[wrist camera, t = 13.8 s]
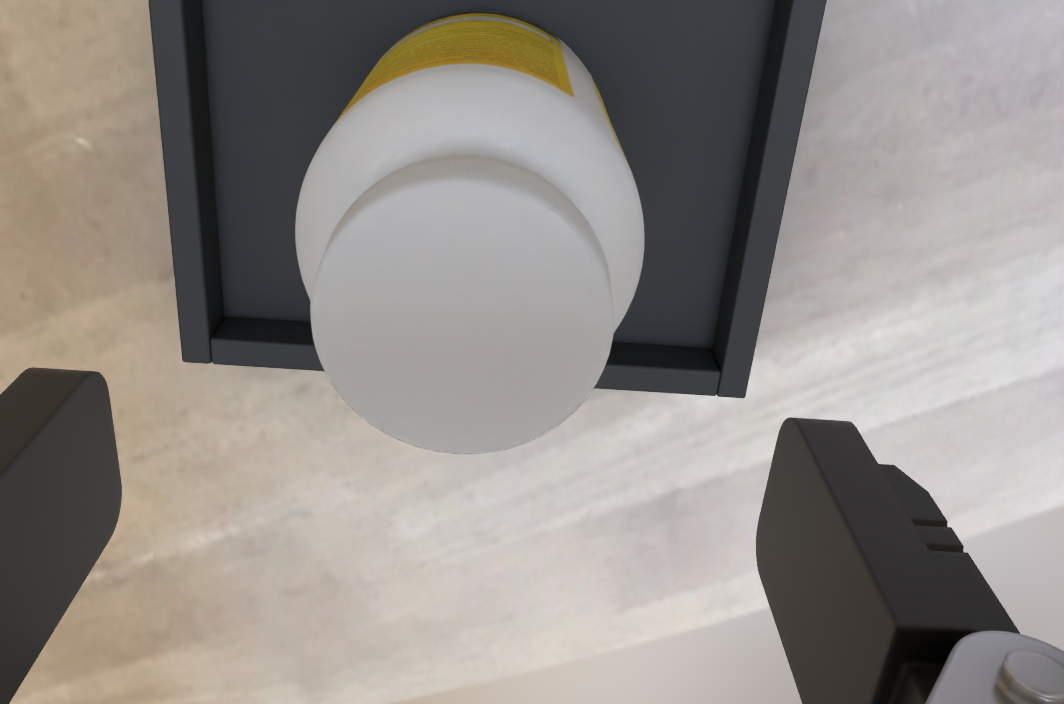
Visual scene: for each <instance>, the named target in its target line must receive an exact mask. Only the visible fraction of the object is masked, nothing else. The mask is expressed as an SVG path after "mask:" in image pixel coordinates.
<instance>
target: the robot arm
mask: <svg viewBox="0 0 1064 704" xmlns="http://www.w3.org/2000/svg"><path fill="white" fill-rule="evenodd" d="M121 497H122V485H121V476H120V469H119V462H118V455H117V448H116V440H115V433H114V426H113V419H112V412H111V404H110V397H109V391H108V387H107V383H106V381H105V379H104V377H103V376H102V375H101V374H100V373H99V372H94V371H79V370H63V369H48V368H29V369H26V370H25V371H24V372H23V373H21V374H20V375H19V376H18V378H17V379H16V380H15V381H14V382H13V383H12V384H11V385H10V386H9V387H8V388H7V389H6V390H5V391H4V392H3V393H2V394H1V395H0V704H9V703H10V701H11V699H12V698H13V696H14V695H15V693H16V691H17V690H18V688H19V686H20V685H21V683H22V682H23V680H24V678H25V677H26V675H27V673H28V672H29V670H30V669H31V667H32V665H33V664H34V662H35V660H36V659H37V657H38V656H39V654H40V652H41V651H42V649H43V647H44V646H45V644H46V642H47V641H48V639H49V638H50V636H51V634H52V633H53V631H54V629H55V628H56V626H57V625H58V623H59V621H60V620H61V618H62V616H63V615H64V613H65V612H66V610H67V608H68V607H69V605H70V603H71V602H72V600H73V599H74V597H75V595H76V594H77V592H78V590H79V589H80V587H81V586H82V584H83V582H84V581H85V579H86V577H87V576H88V574H89V573H90V571H91V569H92V568H93V566H94V564H95V563H96V561H97V559H98V558H99V556H100V555H101V553H102V551H103V550H104V548H105V546H106V545H107V543H108V542H109V540H110V538H111V536H112V535H113V532H114V530H115V527H116V524H117V521H118V517H119V513H120V507H121ZM963 547H964V546H963V545H962V543H961V542H960V540H959V539H958V537H957V536H956V534H955V532H954V531H953V529H952V528H950V527H947V520H946V519H945V517H944V516H943V514H942V512H941V511H940V509H939V508H938V506H937V505H936V503H935V502H934V500H933V499H932V497H931V496H930V494H929V492H928V491H926V490H925V489H924V488H923V487H921V486H920V485H919V484H917V483H916V482H915V481H914V480H912V479H911V478H910V477H909V476H907V475H906V474H905V473H904V472H902V471H901V470H900V469H898V468H897V467H896V466H895V465H884V464H878V463H877V461H876V460H875V458H874V456H873V455H872V453H871V451H870V450H869V448H868V446H867V445H866V443H865V441H864V440H863V438H862V436H861V435H860V433H859V431H858V430H857V428H856V427H855V425H854V424H853V423H852V422H849V421H835V420H820V419H804V418H787V419H786V420H785V421H784V422H783V424H782V426H781V428H780V431H779V434H778V438H777V442H776V447H775V451H774V455H773V460H772V464H771V468H770V473H769V477H768V482H767V486H766V490H765V495H764V499H763V503H762V508H761V512H760V516H759V521H758V527H757V536H756V557H757V566H758V571H759V575H760V578H761V581H762V584H763V587H764V590H765V593H766V596H767V599H768V602H769V605H770V608H771V611H772V614H773V617H774V620H775V623H776V626H777V629H778V632H779V635H780V638H781V641H782V644H783V647H784V650H785V653H786V656H787V659H788V662H789V665H790V668H791V671H792V674H793V677H794V679H795V683H796V686H797V689H798V692H799V695H800V698H801V700H802V703H803V704H1064V651H1062V650H1060V649H1058V648H1056V647H1054V646H1052V645H1050V644H1048V643H1046V642H1043V641H1040V640H1038V639H1036V638H1032V637H1029V636H1025V635H1022V634H1020V632H1019V631H1018V629H1017V628H1016V626H1015V625H1014V623H1013V622H1012V620H1011V619H1010V617H1009V616H1008V614H1007V612H1006V611H1005V609H1004V608H1003V606H1002V605H1001V603H1000V602H999V600H998V599H997V597H996V596H995V594H994V593H993V591H992V589H991V588H990V586H989V585H988V583H987V582H986V580H985V579H984V577H983V575H982V574H981V572H980V571H979V569H978V568H977V566H976V565H975V563H974V562H973V560H972V559H971V557H970V555H969V554H968V553H964V552H963Z"/></svg>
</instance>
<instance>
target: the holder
mask: <svg viewBox="0 0 1064 704" xmlns="http://www.w3.org/2000/svg"><path fill="white" fill-rule="evenodd" d="M148 1H149V11H150V22H151V32H152V43H153V54H154V64H155V75H156V85H157V96H158V107H159V117H160V128H161V138H162V149H163V159H164V170H165V181H166V191H167V202H168V212H169V223H170V234H171V244H172V255H173V265H174V276H175V287H176V297H177V308H178V318H179V329H180V340H181V350H182V360H183V361H184V362H191V363H207V364H208V363H211V362H212V363H213V364H222V365H238V366H253V367H269V368H285V369H301V370H316V371H324V369H323V367H322V364H321V362H320V360H319V357H318V354H317V351H316V348H315V344H314V340H313V336H312V327H311V315H310V301H311V300H310V298H309V296H308V294H307V291H306V288H305V285H304V283H303V280H302V276H301V272H300V268H299V263H298V258H297V251H296V241H295V224H296V210H297V205H298V200H299V195H300V190H301V187H302V184H303V181H304V178H305V175H306V173H307V170H308V168H309V165H310V163H311V161H312V159H313V157H314V155H315V154H316V152H317V150H318V148H319V146H320V144H321V143H322V141H323V140H324V138H325V137H326V135H327V134H328V132H329V131H330V130H331V128H332V127H333V125H334V124H335V122H336V121H337V119H338V118H339V117H340V115H341V114H342V112H343V111H344V110H345V108H346V107H347V105H348V104H349V102H350V101H351V100H352V98H353V97H354V95H355V94H356V93H357V91H358V90H359V88H360V87H361V85H362V84H363V82H364V81H365V79H366V78H367V77H368V75H369V74H370V72H371V70H372V69H373V67H374V66H375V65H376V63H377V62H378V61H379V60H380V58H381V57H382V56H383V55H384V54H385V53H386V52H387V51H388V50H389V48H390V47H392V46H393V45H394V44H395V43H396V42H397V41H398V40H399V39H400V38H402V37H403V36H404V35H406V34H407V33H408V32H410V31H411V30H413V29H415V28H416V27H418V26H420V25H422V24H424V23H426V22H428V21H431V20H433V19H435V18H438V17H442V16H445V15H448V14H453V13H458V12H463V11H494V12H500V13H505V14H510V15H514V16H517V17H520V18H523V19H525V20H528V21H531V22H533V23H535V24H537V25H539V26H540V27H542V28H544V29H546V30H548V31H549V32H551V33H552V34H553V35H555V36H556V37H558V38H559V39H560V40H561V41H563V42H564V43H565V44H566V45H567V46H568V47H569V48H570V49H571V50H572V51H573V52H574V53H575V54H576V55H577V57H578V58H579V59H580V60H581V62H582V63H583V64H584V66H585V67H586V68H587V70H588V71H589V73H590V74H591V76H592V78H593V80H594V82H595V84H596V86H597V88H598V90H599V92H600V95H601V97H602V100H603V103H604V106H605V108H606V111H607V114H608V117H609V119H610V122H611V124H612V127H613V129H614V131H615V134H616V136H617V138H618V141H619V143H620V145H621V148H622V150H623V152H624V155H625V157H626V160H627V162H628V164H629V167H630V169H631V172H632V174H633V177H634V180H635V183H636V186H637V189H638V194H639V198H640V202H641V207H642V212H643V221H644V239H645V240H644V255H643V263H642V269H641V273H640V278H639V282H638V285H637V288H636V291H635V294H634V297H633V299H632V301H631V304H630V306H629V308H628V310H627V312H626V314H625V316H624V318H623V319H622V321H621V323H620V324H619V326H618V327H617V329H616V330H615V332H614V333H613V340H612V345H611V349H610V354H609V357H608V359H607V362H606V365H605V367H604V370H603V372H602V374H601V376H600V378H599V380H598V382H597V384H596V385H595V387H594V388H600V389H616V390H631V391H647V392H663V393H679V394H695V395H710V396H715V395H716V394H717V396H719V397H735V398H745V395H746V390H747V385H748V380H749V375H750V370H751V366H752V361H753V356H754V351H755V346H756V341H757V336H758V332H759V327H760V322H761V317H762V312H763V307H764V302H765V297H766V293H767V288H768V283H769V278H770V273H771V268H772V263H773V258H774V254H775V249H776V244H777V239H778V234H779V229H780V224H781V219H782V215H783V210H784V205H785V200H786V195H787V190H788V185H789V180H790V176H791V171H792V166H793V161H794V156H795V151H796V146H797V141H798V137H799V132H800V127H801V122H802V117H803V112H804V107H805V102H806V98H807V93H808V88H809V83H810V78H811V73H812V68H813V63H814V59H815V54H816V49H817V44H818V39H819V34H820V29H821V25H822V20H823V15H824V10H825V5H826V0H148Z"/></svg>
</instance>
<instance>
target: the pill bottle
mask: <svg viewBox="0 0 1064 704" xmlns="http://www.w3.org/2000/svg"><path fill="white" fill-rule="evenodd" d="M644 240H645V239H644V221H643V212H642V207H641V202H640V198H639V194H638V189H637V186H636V183H635V180H634V177H633V174H632V172H631V169H630V167H629V164H628V162H627V160H626V157H625V155H624V152H623V150H622V148H621V145H620V143H619V141H618V138H617V136H616V134H615V131H614V129H613V127H612V124H611V122H610V119H609V117H608V114H607V111H606V108H605V106H604V103H603V100H602V97H601V95H600V92H599V90H598V88H597V86H596V84H595V82H594V80H593V78H592V76H591V74H590V73H589V71H588V70H587V68H586V67H585V66H584V64H583V63H582V62H581V60H580V59H579V58H578V57H577V55H576V54H575V53H574V52H573V51H572V50H571V49H570V48H569V47H568V46H567V45H566V44H565V43H564V42H563V41H561V40H560V39H559V38H558V37H556V36H555V35H553V34H552V33H551V32H549V31H548V30H546V29H544V28H542V27H540V26H539V25H537V24H535V23H533V22H531V21H528V20H525V19H523V18H520V17H517V16H514V15H510V14H505V13H500V12H494V11H463V12H458V13H453V14H448V15H445V16H442V17H438V18H435V19H433V20H431V21H428V22H426V23H424V24H422V25H420V26H418V27H416V28H415V29H413V30H411V31H410V32H408V33H407V34H406V35H404V36H403V37H402V38H400V39H399V40H398V41H397V42H396V43H395V44H394V45H393V46H392V47H390V48H389V50H388V51H387V52H386V53H385V54H384V55H383V56H382V57H381V58H380V60H379V61H378V62H377V63H376V65H375V66H374V67H373V69H372V70H371V72H370V74H369V75H368V77H367V78H366V79H365V81H364V82H363V84H362V85H361V87H360V88H359V90H358V91H357V93H356V94H355V95H354V97H353V98H352V100H351V101H350V102H349V104H348V105H347V107H346V108H345V110H344V111H343V112H342V114H341V115H340V117H339V118H338V119H337V121H336V122H335V124H334V125H333V127H332V128H331V130H330V131H329V132H328V134H327V135H326V137H325V138H324V140H323V141H322V143H321V144H320V146H319V148H318V150H317V152H316V154H315V155H314V157H313V159H312V161H311V163H310V165H309V168H308V170H307V173H306V175H305V178H304V181H303V184H302V187H301V190H300V195H299V200H298V205H297V210H296V224H295V241H296V251H297V258H298V263H299V268H300V272H301V276H302V280H303V283H304V285H305V288H306V291H307V294H308V296H309V298H310V300H311V301H310V315H311V327H312V336H313V340H314V344H315V348H316V351H317V354H318V357H319V360H320V362H321V364H322V367H323V369H324V371H325V373H326V375H327V377H328V378H329V380H330V382H331V383H332V385H333V386H334V388H335V389H336V390H337V392H338V393H339V395H340V396H341V397H342V398H343V400H344V401H345V402H346V403H347V404H348V405H349V406H350V407H351V408H352V409H353V410H354V411H355V412H356V413H357V414H358V415H360V416H361V417H362V418H363V419H365V420H366V421H367V422H369V423H370V424H371V425H373V426H374V427H376V428H377V429H379V430H380V431H382V432H384V433H385V434H387V435H390V436H392V437H394V438H396V439H398V440H400V441H403V442H405V443H408V444H411V445H413V446H416V447H420V448H424V449H428V450H432V451H436V452H444V453H452V454H479V453H489V452H495V451H501V450H505V449H509V448H512V447H516V446H519V445H522V444H525V443H527V442H529V441H531V440H533V439H536V438H538V437H540V436H542V435H544V434H546V433H547V432H549V431H550V430H552V429H554V428H555V427H557V426H558V425H560V424H561V423H562V422H563V421H565V420H566V419H567V418H568V417H569V416H570V415H571V414H573V413H574V412H575V411H576V410H577V409H578V408H579V407H580V405H581V404H582V403H583V402H584V401H585V399H586V398H587V397H588V395H589V394H590V393H591V391H592V390H593V388H594V387H595V385H596V384H597V382H598V380H599V378H600V376H601V374H602V372H603V370H604V367H605V365H606V362H607V359H608V357H609V354H610V349H611V345H612V340H613V333H614V332H615V330H616V329H617V327H618V326H619V324H620V323H621V321H622V319H623V318H624V316H625V314H626V312H627V310H628V308H629V306H630V304H631V301H632V299H633V297H634V294H635V291H636V288H637V285H638V282H639V278H640V273H641V269H642V263H643V255H644Z"/></svg>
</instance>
